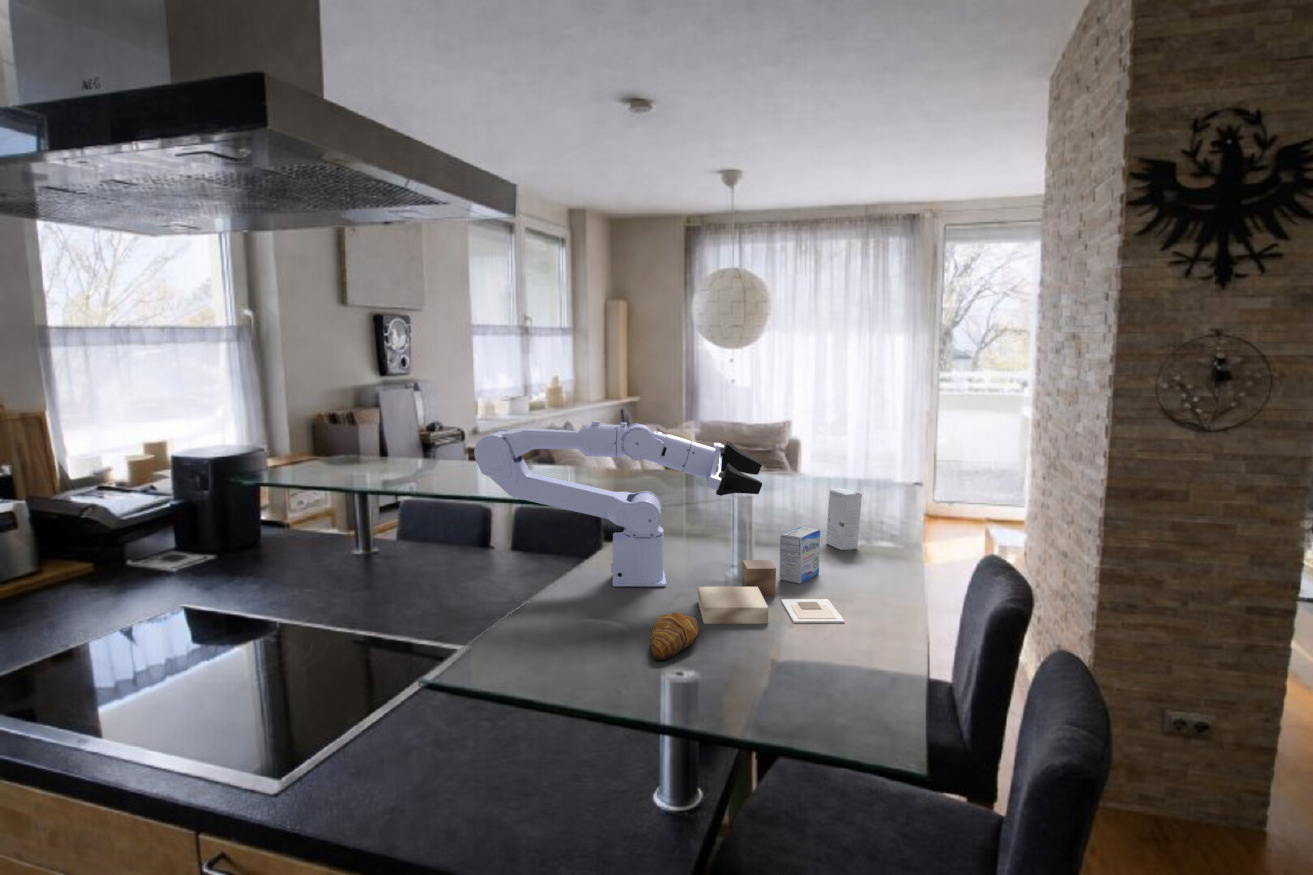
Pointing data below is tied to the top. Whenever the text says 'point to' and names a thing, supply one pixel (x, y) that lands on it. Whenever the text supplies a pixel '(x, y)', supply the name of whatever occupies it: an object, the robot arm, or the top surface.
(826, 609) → the picture card
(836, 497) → the skincare box
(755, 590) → the maple block
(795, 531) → the medicine box
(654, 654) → the croissant
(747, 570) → the walnut cube
